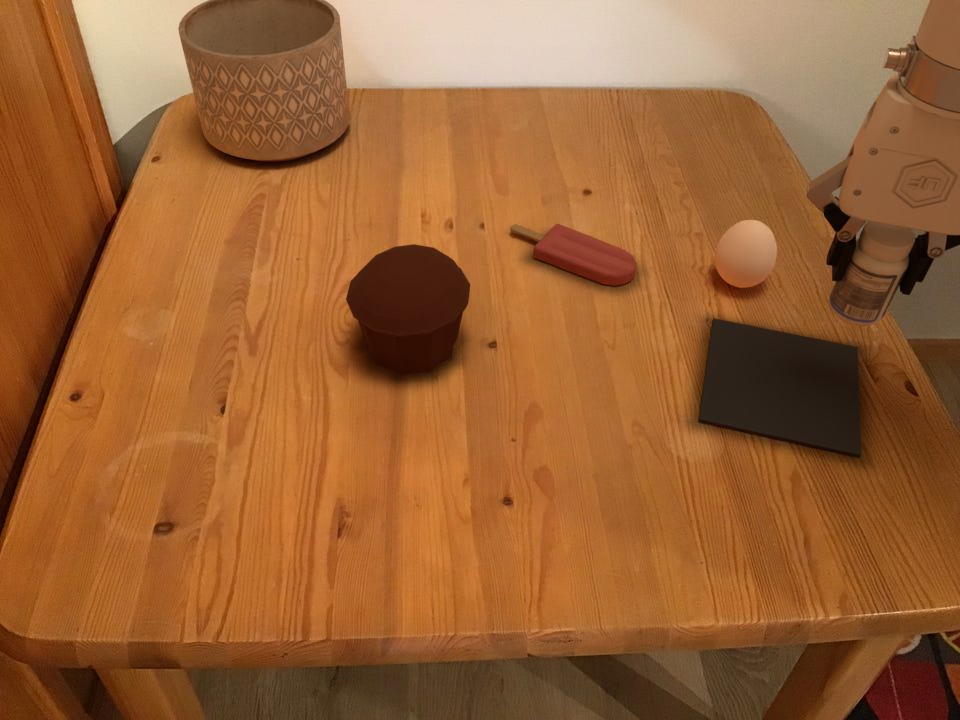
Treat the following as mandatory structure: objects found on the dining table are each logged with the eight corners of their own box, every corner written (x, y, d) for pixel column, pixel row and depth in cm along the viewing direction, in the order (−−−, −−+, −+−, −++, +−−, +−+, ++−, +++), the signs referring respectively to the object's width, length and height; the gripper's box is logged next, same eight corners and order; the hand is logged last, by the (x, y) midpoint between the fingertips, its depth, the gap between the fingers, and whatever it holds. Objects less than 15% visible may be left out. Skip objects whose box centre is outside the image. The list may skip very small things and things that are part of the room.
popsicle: (523, 209, 96) (645, 255, 91) (523, 220, 97) (642, 266, 92) (499, 233, 93) (623, 282, 87) (498, 244, 94) (621, 293, 88)
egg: (696, 274, 91) (712, 216, 85) (740, 257, 93) (757, 199, 88) (734, 307, 87) (753, 249, 82) (778, 289, 89) (799, 231, 84)
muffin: (396, 289, 88) (390, 210, 81) (490, 325, 85) (492, 246, 78) (329, 360, 81) (316, 280, 74) (429, 403, 77) (426, 323, 70)
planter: (353, 93, 117) (342, -12, 107) (348, 168, 104) (336, 56, 94) (215, 96, 116) (192, -11, 105) (194, 172, 103) (164, 59, 92)
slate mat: (856, 349, 83) (857, 346, 83) (859, 458, 74) (861, 455, 73) (712, 320, 86) (713, 318, 86) (698, 422, 76) (698, 419, 76)
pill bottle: (851, 284, 76) (885, 208, 70) (894, 315, 74) (933, 237, 68) (815, 303, 75) (847, 225, 69) (858, 335, 72) (895, 257, 66)
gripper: (834, 81, 58) (764, 286, 71) (1107, 122, 54) (982, 327, 68) (833, 35, 63) (768, 233, 76) (1084, 69, 60) (971, 270, 73)
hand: (870, 276), depth 71 cm, fingers closed on pill bottle, 4 cm apart
